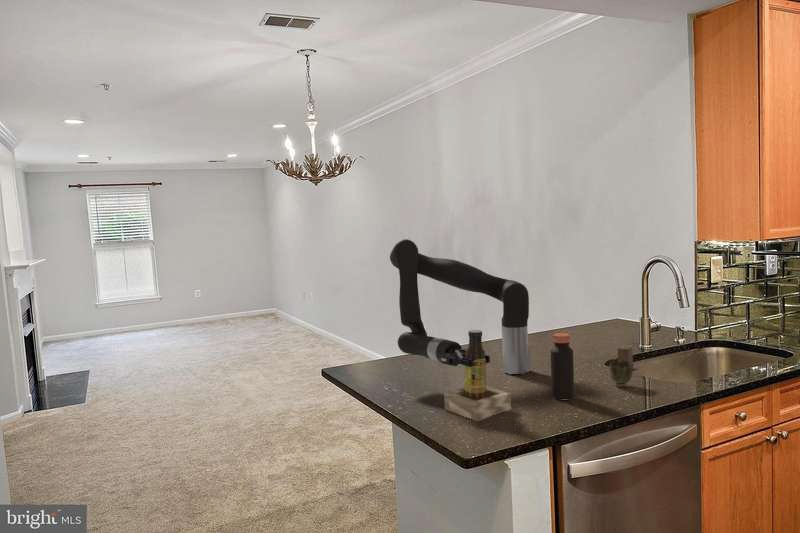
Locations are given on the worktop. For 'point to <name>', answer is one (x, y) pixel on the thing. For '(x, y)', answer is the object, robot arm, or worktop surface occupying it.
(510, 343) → the robot arm
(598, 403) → the worktop surface
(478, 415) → the socket block
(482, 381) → the sauce bottle
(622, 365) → the cup
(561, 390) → the vinegar
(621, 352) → the wooden block
